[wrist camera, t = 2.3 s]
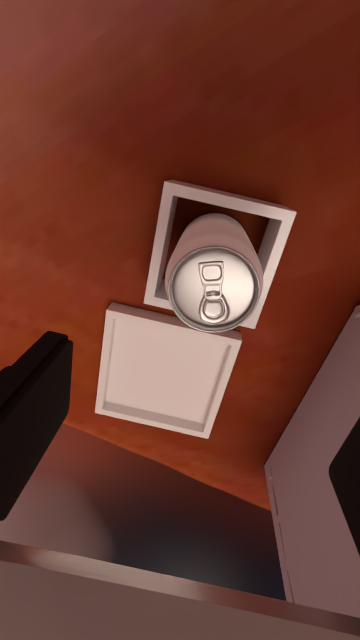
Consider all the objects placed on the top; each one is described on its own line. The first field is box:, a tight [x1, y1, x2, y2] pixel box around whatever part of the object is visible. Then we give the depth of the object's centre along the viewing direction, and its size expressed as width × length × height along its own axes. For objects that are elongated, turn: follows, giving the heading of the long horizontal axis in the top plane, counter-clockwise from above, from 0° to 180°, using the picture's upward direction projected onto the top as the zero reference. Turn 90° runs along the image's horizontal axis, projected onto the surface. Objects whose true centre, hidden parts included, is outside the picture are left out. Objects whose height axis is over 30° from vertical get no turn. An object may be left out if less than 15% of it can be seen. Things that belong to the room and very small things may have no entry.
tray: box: [95, 302, 242, 439], centre depth 35 cm, size 14×14×2 cm
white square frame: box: [144, 179, 297, 329], centre depth 27 cm, size 10×10×5 cm
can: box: [165, 213, 263, 333], centre depth 24 cm, size 6×6×12 cm
